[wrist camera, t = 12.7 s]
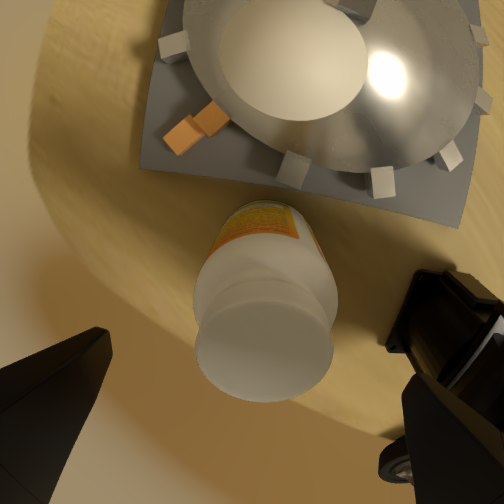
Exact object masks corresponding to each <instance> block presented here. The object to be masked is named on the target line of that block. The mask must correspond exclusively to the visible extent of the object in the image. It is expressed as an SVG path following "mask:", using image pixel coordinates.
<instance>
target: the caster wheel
mask: <svg viewBox="0 0 504 504" xmlns="http://www.w3.org/2000/svg"><path fill="white" fill-rule="evenodd" d="M378 474H379V477H380V478H381V479H383V480H384V481H387V482H390V483H411V484H412V485H413V486H414V483H413V477H412V471H411V466H410V459H409V453H408V448H407V442H406V437H405V438H402V439H399V440H397V441H395V442H393V443H391V444H390V445H388V446H387V447H386V448H385V449H384V450H383V451H382V452H381V454H380V457H379V468H378Z"/></svg>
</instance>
